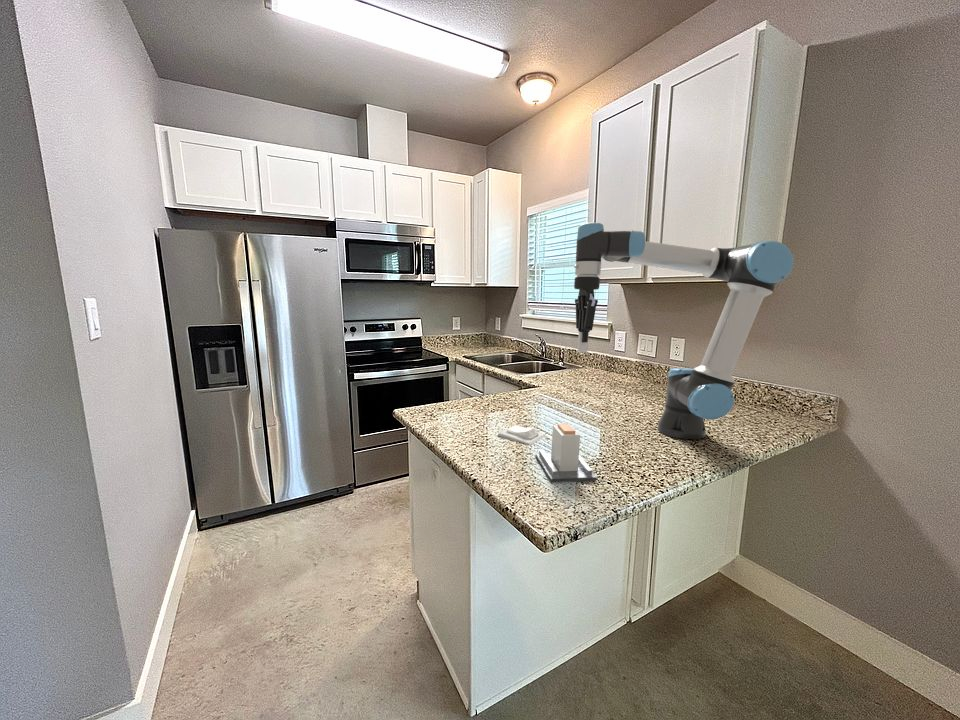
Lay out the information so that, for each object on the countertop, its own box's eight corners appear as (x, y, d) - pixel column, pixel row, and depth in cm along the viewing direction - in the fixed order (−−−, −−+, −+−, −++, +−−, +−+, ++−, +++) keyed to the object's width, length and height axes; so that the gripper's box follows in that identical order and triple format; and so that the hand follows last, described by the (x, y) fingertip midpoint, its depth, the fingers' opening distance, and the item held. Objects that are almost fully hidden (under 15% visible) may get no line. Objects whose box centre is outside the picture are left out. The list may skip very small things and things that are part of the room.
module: (568, 458, 111) (570, 422, 109) (577, 470, 103) (580, 432, 101) (551, 458, 110) (553, 422, 108) (559, 471, 102) (561, 432, 101)
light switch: (531, 437, 122) (498, 425, 129) (530, 449, 123) (497, 437, 130) (547, 428, 130) (515, 418, 138) (546, 439, 131) (514, 428, 139)
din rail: (574, 455, 115) (575, 447, 115) (596, 480, 100) (596, 471, 99) (535, 456, 114) (535, 448, 114) (551, 482, 98) (551, 473, 98)
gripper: (568, 277, 125) (564, 349, 129) (583, 275, 112) (578, 355, 116) (590, 277, 125) (586, 349, 129) (608, 275, 113) (602, 355, 117)
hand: (582, 352), depth 123 cm, fingers closed
